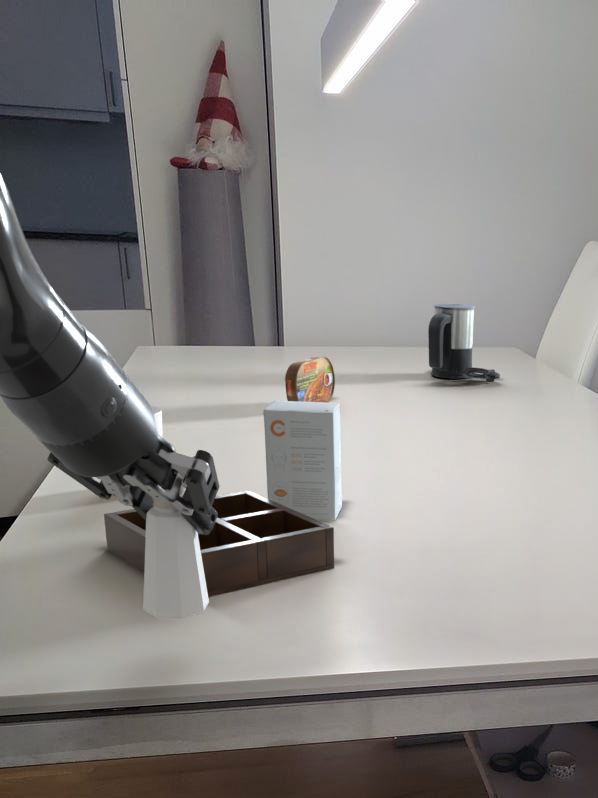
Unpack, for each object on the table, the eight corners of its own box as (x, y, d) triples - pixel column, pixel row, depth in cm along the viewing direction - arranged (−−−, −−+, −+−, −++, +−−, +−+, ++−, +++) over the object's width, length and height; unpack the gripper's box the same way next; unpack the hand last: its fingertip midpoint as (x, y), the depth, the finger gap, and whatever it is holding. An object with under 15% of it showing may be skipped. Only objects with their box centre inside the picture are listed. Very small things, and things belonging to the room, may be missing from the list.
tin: (298, 414, 181) (297, 364, 177) (282, 412, 181) (281, 363, 178) (336, 400, 194) (336, 354, 190) (321, 398, 195) (320, 352, 191)
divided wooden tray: (184, 602, 97) (180, 557, 95) (107, 555, 108) (103, 513, 107) (334, 568, 108) (334, 527, 106) (250, 528, 119) (248, 490, 117)
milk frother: (435, 371, 230) (436, 302, 225) (505, 376, 229) (508, 306, 223) (423, 381, 217) (424, 308, 212) (497, 386, 216) (500, 312, 210)
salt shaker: (129, 612, 86) (118, 482, 81) (168, 591, 90) (160, 468, 86) (184, 624, 84) (176, 492, 80) (222, 602, 89) (216, 477, 84)
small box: (342, 507, 128) (341, 402, 123) (335, 522, 123) (333, 412, 117) (277, 504, 128) (273, 399, 123) (267, 519, 122) (262, 409, 117)
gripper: (183, 362, 70) (275, 494, 86) (11, 343, 74) (128, 472, 89) (143, 455, 67) (245, 574, 83) (-34, 430, 71) (95, 548, 87)
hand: (184, 520), depth 86 cm, fingers closed on salt shaker, 4 cm apart
